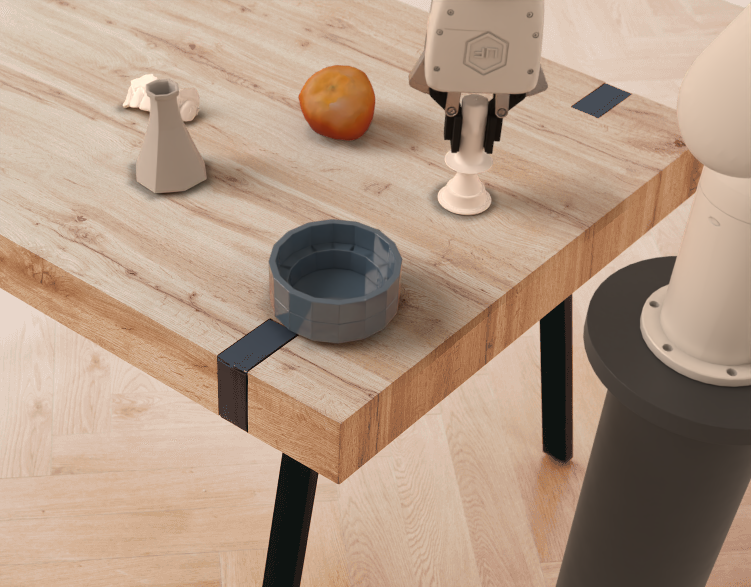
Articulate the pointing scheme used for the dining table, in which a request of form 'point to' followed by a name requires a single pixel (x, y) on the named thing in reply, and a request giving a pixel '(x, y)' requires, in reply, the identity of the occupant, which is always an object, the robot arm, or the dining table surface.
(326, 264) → the bowl
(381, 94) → the dining table surface
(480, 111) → the candle
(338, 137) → the fruit
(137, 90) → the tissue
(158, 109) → the flask
